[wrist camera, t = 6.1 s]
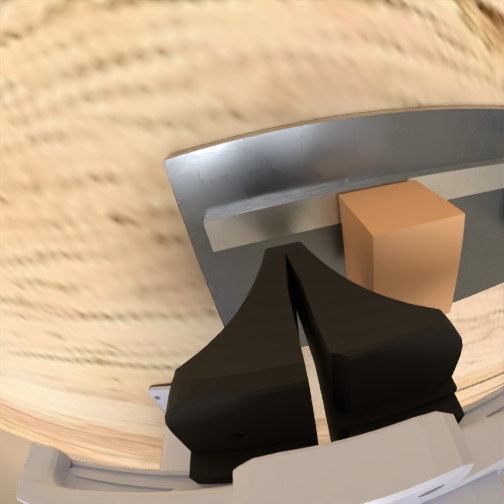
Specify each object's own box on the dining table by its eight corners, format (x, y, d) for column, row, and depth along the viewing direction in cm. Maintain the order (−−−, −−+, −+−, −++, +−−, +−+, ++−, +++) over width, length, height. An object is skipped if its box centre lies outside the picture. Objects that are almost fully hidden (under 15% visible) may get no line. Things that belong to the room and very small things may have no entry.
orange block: (407, 281, 15) (444, 335, 11) (345, 298, 15) (371, 359, 11) (408, 175, 12) (465, 213, 8) (333, 190, 12) (372, 235, 8)
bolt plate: (529, 258, 17) (572, 300, 12) (237, 345, 19) (238, 426, 13) (544, 109, 11) (607, 132, 6) (169, 154, 13) (123, 199, 8)
